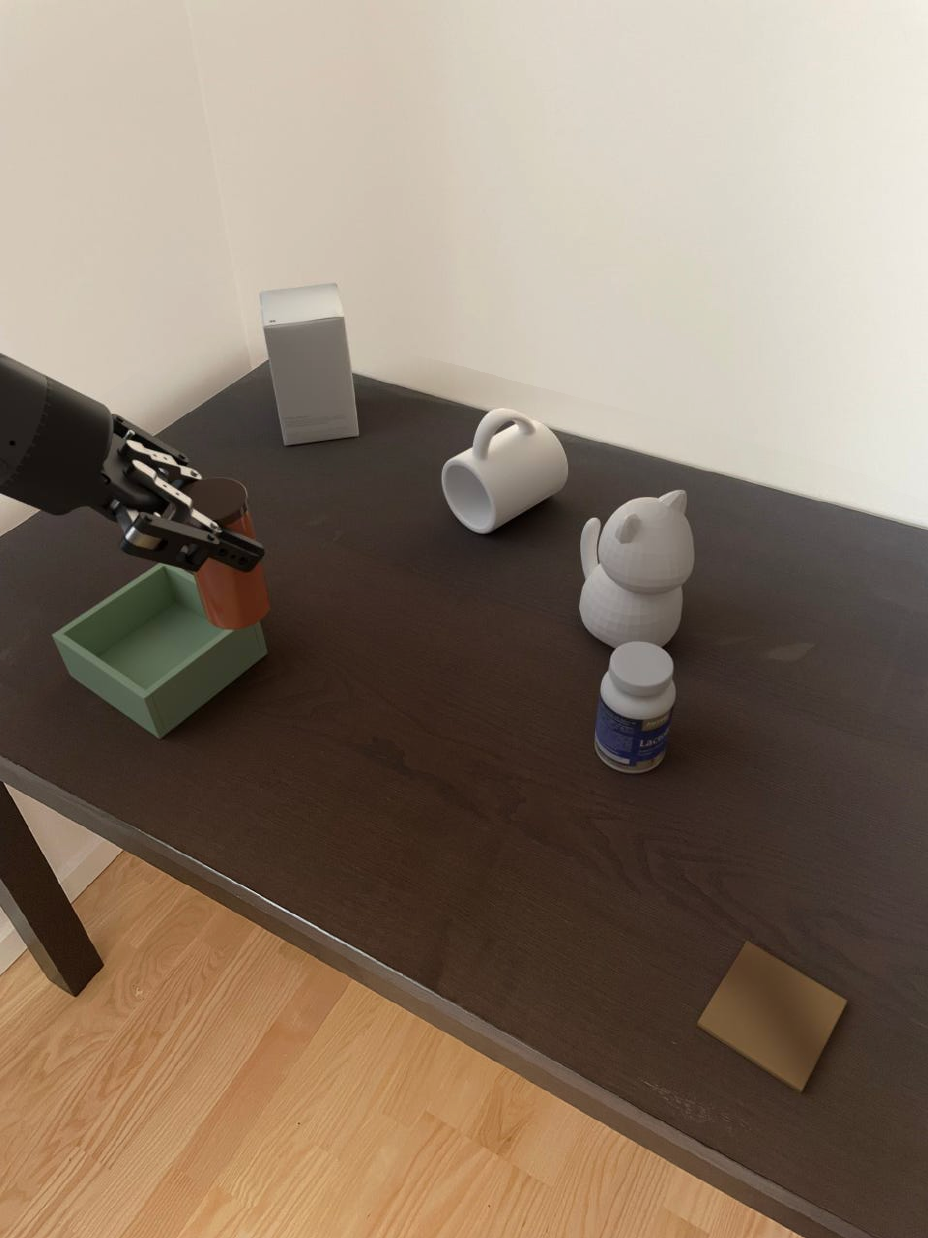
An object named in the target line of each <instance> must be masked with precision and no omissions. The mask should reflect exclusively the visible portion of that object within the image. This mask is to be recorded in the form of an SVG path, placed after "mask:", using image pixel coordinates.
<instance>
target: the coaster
mask: <svg viewBox="0 0 928 1238" xmlns="http://www.w3.org/2000/svg"><path fill="white" fill-rule="evenodd" d="M847 1003H848V1000H847V999H845V998H844V997H842V996H840V995H839V994H837V993H836V992H833V991H832V990H831V989H828V988H827V987H825V986H823V985H822V984H820V983H818V982H817V981H815V980H814V979H812V978H810V977H809V976H807V975H805V974H804V973H802V972H800V971H799V970H797V969H796V968H794V967H792V966H791V965H789V964H787V963H785V962H784V961H782V960H780V959H779V958H777V957H775V956H773V955H772V954H770V953H769V952H767V951H765V950H764V949H762V948H760V947H759V946H757V945H756V944H753V942H751V941H749V940H746V941H745V942H744V944H743V946H742V948H741V949H740V951H739V952H738V954H737V956H736V958H735V959H734V961H733V963H732V964H731V966H730V968H729V969H728V971H727V972H726V974H725V976H724V977H723V979H722V981H721V982H720V985H719V986H718V987H717V989H716V991H715V993H714V994H713V996H712V997H711V999H710V1000H709V1002H708V1004H707V1006H706V1007H705V1009H704V1010H703V1012H702V1014H701V1016H700V1017H699V1019H698V1021H697V1023H696V1026H698V1028H699V1029H702V1031H705V1032H706V1033H708V1034H709V1035H710V1036H712V1037H714V1038H715V1039H717V1040H718V1041H720V1042H721V1043H723V1044H724V1045H726V1046H727V1047H729V1048H730V1049H732V1050H734V1051H735V1052H736V1053H739V1055H741V1056H742V1057H744V1058H746V1059H747V1060H749V1061H750V1062H751V1063H753V1064H755V1065H756V1066H757V1067H759V1068H760V1069H762V1070H764V1072H766V1073H768V1074H770V1075H771V1076H773V1078H776V1079H777V1080H779V1081H780V1082H782V1083H783V1084H784V1085H786V1086H788V1087H789V1088H791V1089H792V1090H794V1091H795V1092H797V1093H799V1094H802V1093H803V1091H804V1088H805V1087H806V1085H807V1082H808V1081H809V1079H810V1077H811V1074H812V1072H813V1071H814V1069H815V1067H816V1065H817V1063H818V1061H819V1059H820V1057H821V1055H822V1053H823V1051H824V1049H825V1047H826V1045H827V1043H828V1041H829V1040H830V1037H831V1035H832V1033H833V1032H834V1029H835V1027H836V1025H837V1023H838V1021H839V1019H840V1017H841V1015H842V1014H843V1011H844V1010H845V1007H846V1005H847Z"/></svg>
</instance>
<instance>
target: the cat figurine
mask: <svg viewBox="0 0 928 1238" xmlns="http://www.w3.org/2000/svg"><path fill="white" fill-rule="evenodd" d="M687 497H688V496H687V491H686V490H685V489H675V490H672V491H670V492H667V493H665V494H663V495H661V496H660V497H654V496H644V497H643V496H642V497H637V498H633V499H631V500H628V501H627V502H625V503H624V504H622V505H621V506H619V507H618V508H616V510H615V511H614V512H612V514H611V515H610V517H609V518H608V520H607V521H606V523H605V525H603V529H602V532H601V534H600V531H601V521H600V519H599V518H598V517H591V518H590V519H589V520H587V521H586V523H585V524H584V526H583V528H582V532H581V534H580V541H579V542H580V550H579V551H580V561H581V567H582V571H583V576H584V580H585V581H584V583H583V585H582V588H581V591H580V592H581V593H580V597H579V603H578V604H579V605H578V609H579V614H580V618H581V622H582V623H583V625H584V627H585V628H586V629H587V630H588V632H589V633H590V634H591V635H592V636H593V637H595V639H598V640H599V641H601V642H602V643H604V644H606V645H607V646H609V647H611V648H613V649H614V650H616V649H617V648H618V647H619V646H621V645H623V644H625V643H629V642H647V643H651V644H654V645H657V646H659V647H660V648H663V647H664V646H666V644H668V643H669V641H670V640H671V639H672V638H673V637H674V636H675V634H676V633H677V631H678V629H679V626H680V623H681V621H682V620H681V619H682V612H683V611H682V610H683V604H684V603H683V601H684V600H683V599H684V598H683V589H682V586H683V584H685V583H686V581H687V580H688V579H689V577H690V576H691V574H692V572H693V570H694V564H695V546H694V544H695V543H694V538H693V532H692V528H691V526H690V523H689V520H688V519H687V517H686V515H685V514H686V510H687V504H688V498H687ZM599 535H600V538H599ZM598 541H599V542H598Z"/></svg>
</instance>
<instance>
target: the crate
mask: <svg viewBox="0 0 928 1238" xmlns="http://www.w3.org/2000/svg"><path fill="white" fill-rule="evenodd" d="M262 629H263V628H262V626H261V620H260V621H259V622H257V623H255V624H254V625H251V626H249V627H246V628H242V629H237V630H226V629H221V628H218V627H215V626H214V625H212V624H211V623H210V622H209V621H208V620H207V618H206V616H205V612H204V609H203V606H202V602H201V599H200V595H199V592H198V588H197V585H196V581H195V578H194V574H193V573H192V574H191V573H190V572H189V571H188V570H185V569H182V568H178V567H174V566H170V565H166V564H162V563H159V562H158V563H157V564H156V565H154V566H153V567H150V568H149V569H148V570H147V571H145V572H144V573H142V574H141V575H139V576H138V577H136V578H135V579H133V580H132V581H130V582H129V583H127V584H126V585H124V586H123V587H121V588H120V589H118V590H116V591H115V592H114V593H112V594H110V595H109V596H108V597H106V598H105V599H103V600H102V601H100V602H99V603H98V604H96V605H94V606H92V607H91V608H90V609H88V610H87V611H85V612H84V613H82V614H81V615H79V616H78V617H76V618H75V619H73V620H72V621H70V622H69V623H67V624H66V625H64V626H63V627H61V628H60V629H59V630H57V631H55V632H54V633H52V634H51V637H52V639H53V641H54V643H55V645H56V648H57V650H58V652H59V654H60V656H61V659H62V662H63V663H64V665H65V667H66V669H67V671H68V674H69V676H70V677H71V678H73V679H74V680H75V681H77V682H78V683H80V684H81V685H82V686H84V687H86V688H87V689H89V690H90V691H91V692H93V693H94V694H95V695H97V696H98V697H100V698H101V699H102V700H104V701H105V702H107V703H108V704H110V705H111V706H112V707H113V708H115V709H116V710H117V711H119V712H121V713H122V714H124V715H125V716H126V717H128V718H129V719H131V720H132V721H133V722H135V723H136V724H137V725H139V726H140V727H141V728H143V729H145V730H146V731H147V732H149V733H150V734H152V736H154V737H156V738H157V739H158V740H161V739H162V738H163V737H165V736H166V735H167V734H168V733H170V732H171V731H173V729H175V728H176V727H177V726H179V724H181V723H183V722H184V721H185V720H186V719H188V717H190V716H191V715H192V714H194V713H195V712H197V710H199V709H200V708H201V707H202V706H204V705H205V704H206V703H207V702H208V701H210V700H211V699H212V698H214V697H215V696H216V695H217V694H219V693H220V692H221V691H222V690H224V689H225V688H226V687H227V686H229V685H230V684H231V683H232V682H234V681H235V680H236V679H238V678H239V677H240V676H242V674H243V673H245V672H246V671H247V670H248V669H250V668H251V667H252V666H253V665H255V664H257V662H259V661H260V660H261V659H263V658H264V657H265V656H266V655H267V654H268V649H267V646H266V641H265V637H264V634H263V633H264V632H263V630H262Z"/></svg>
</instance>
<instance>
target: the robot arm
mask: <svg viewBox="0 0 928 1238" xmlns="http://www.w3.org/2000/svg"><path fill="white" fill-rule="evenodd" d="M189 463H190V459H189V458H188V457H187V456H186V454H184V453H182V452H180V451H179V450H177V449H175V448H174V447H172V446H171V445H169V444H167V443H165V442H164V441H162V440H160V439H159V438H158V437H156V436H154V435H153V434H151V433H149V432H147V431H146V430H144V429H142V428H141V427H139V426H138V425H136V424H134V423H132V422H130V421H129V420H127V419H126V418H124V417H123V416H121V415H119V414H116V413H112V412H111V410H110V409H109V408H108V407H107V406H106V405H105V404H104V403H101V402H99V401H97V400H95V399H94V398H92V397H90V396H88V395H86V394H83V393H81V392H80V391H78V390H75V389H74V388H72V387H70V386H68V385H66V384H64V383H62V382H60V381H58V380H56V379H54V378H52V377H50V376H48V375H47V374H44V373H42V372H41V371H38V370H36V369H34V368H32V367H30V366H29V365H27V364H24V363H22V362H21V361H18V360H16V359H14V358H12V357H10V356H8V355H7V354H4V353H2V352H0V495H3V496H5V497H8V498H10V499H12V500H14V501H18V502H19V503H22V504H24V505H27V506H30V507H32V508H34V509H37V510H39V511H42V512H44V513H47V514H50V515H52V516H58V517H59V516H64V515H67V514H69V513H71V512H72V511H74V510H77V509H79V508H83V507H89V508H90V509H92V510H93V511H95V512H97V513H98V514H100V515H102V516H103V517H104V518H106V519H107V520H109V521H111V522H113V523H116V524H118V525H120V527H121V529H122V531H123V533H124V534H123V536H122V537H121V539H119V541H118V543H117V546H118V548H119V549H120V551H122V552H123V553H124V554H126V555H128V556H132V557H135V558H140V559H142V560H143V559H144V560H148V561H151V562H155V563H158V564H159V563H162V564H166V565H170V566H174V567H178V568H181V569H183V570H185V571H188V572H189V571H190V572H192V573H193V572H198V571H199V569H200V568H201V567H202V565H203V564H204V563H205V561H206V560H207V559H208V557H209V558H211V559H214V560H216V561H218V562H221V563H223V564H226V565H228V566H230V567H233V568H235V569H237V570H240V571H242V572H245V573H248V572H251V571H252V570H253V569H254V568H255V567H256V565H257V564H258V563H259V562H260V560H261V561H262V559H263V558H264V557H265V554H266V551H265V549H264V546H263V544H262V543H261V542H259V541H257V540H256V541H255V540H253V539H250V538H248V537H246V536H244V535H242V534H239V533H237V532H235V531H233V530H231V529H228V528H226V527H224V526H222V525H218V524H217V523H215V522H214V521H212V520H210V519H209V518H207V517H206V516H204V515H203V514H201V513H199V512H198V511H196V510H195V509H194V508H193V501H192V500H191V498H189V497H188V496H186V495H185V494H183V493H182V492H180V490H181V489H182V488H184V487H185V486H187V485H189V484H191V483H193V482H196V481H198V480H202V479H203V476H202V475H201V474H200V473H199V472H198V471H197V470H195V469H194V468H191V467H188V465H189ZM171 504H173V505H174V506H175V510H174V511H172V513H171V514H170V516H169V517H168V518H164V517H162V516H163V515H164V513H165V512H166V511H167V509H168V508H169V507H170V505H171ZM184 521H188V522H190V523H191V524H193V525H195V526H196V527H198V528H199V529H197V528H194V527H190V526H187V525H184V524H181V523H182V522H184Z"/></svg>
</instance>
